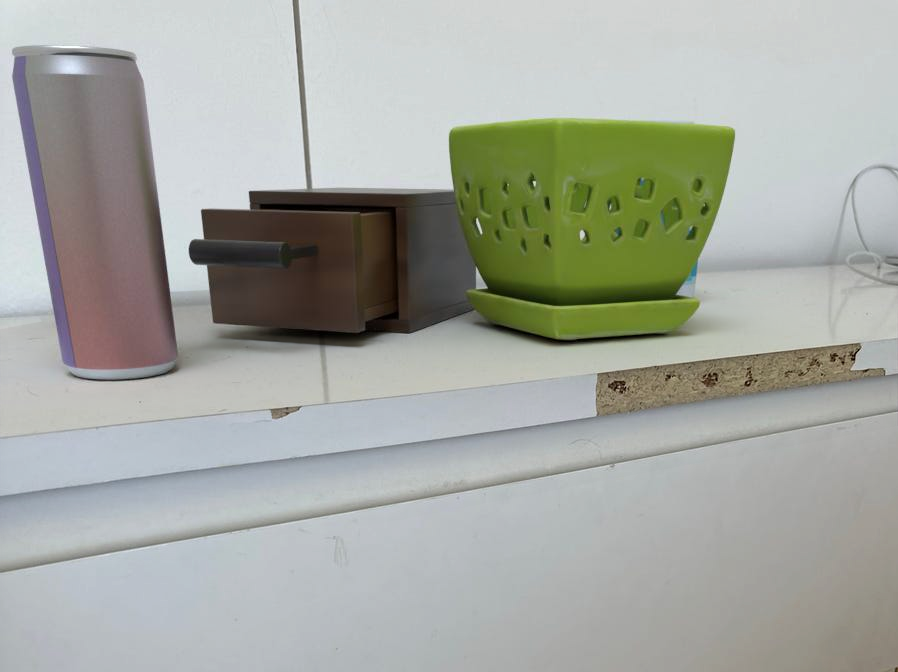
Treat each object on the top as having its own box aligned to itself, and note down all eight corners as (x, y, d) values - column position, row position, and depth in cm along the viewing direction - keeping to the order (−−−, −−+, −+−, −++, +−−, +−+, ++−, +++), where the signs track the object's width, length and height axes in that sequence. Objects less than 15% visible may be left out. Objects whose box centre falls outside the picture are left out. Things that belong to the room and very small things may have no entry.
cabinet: (409, 333, 66) (406, 193, 62) (259, 323, 69) (248, 190, 65) (476, 308, 77) (476, 189, 73) (345, 301, 81) (339, 187, 77)
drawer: (320, 345, 56) (312, 216, 53) (166, 334, 59) (151, 212, 56) (432, 308, 70) (431, 206, 67) (305, 301, 73) (298, 203, 70)
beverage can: (40, 373, 52) (-21, 48, 46) (129, 357, 57) (85, 59, 50) (115, 385, 49) (62, 41, 43) (202, 367, 54) (166, 54, 47)
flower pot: (721, 337, 65) (745, 123, 60) (546, 353, 59) (555, 116, 54) (599, 311, 76) (610, 129, 71) (442, 322, 70) (440, 123, 64)
